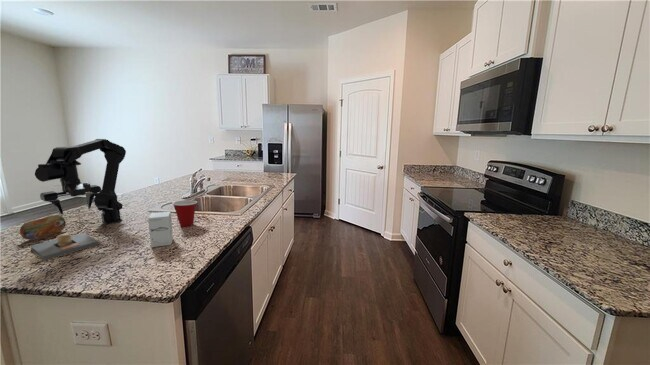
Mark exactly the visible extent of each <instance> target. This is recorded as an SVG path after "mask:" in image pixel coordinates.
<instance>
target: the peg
mask: <svg viewBox="0 0 650 365" xmlns="http://www.w3.org/2000/svg"><path fill="white" fill-rule="evenodd" d="M71 236H72V235H71V233H61V234H59V235H57V236H56V239H57V241H58V246H59V247H62V246H66V245H70V244H73V243H72V239H71ZM59 247H58V248H59Z"/></svg>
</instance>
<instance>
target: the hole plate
mask: <svg viewBox="0 0 650 365" xmlns="http://www.w3.org/2000/svg"><path fill="white" fill-rule="evenodd" d="M71 239H72V244H70V245H66V246H62V247H59V246H58V241H57V238H56V239H52V240H49V241H45V242H41V243H37V244H34V245H33V244H32V245H30V249H31V251H32V252H34V253H35V254H36V255H37V256H38V257H39V258H40V259H42V260H43V261H46V260H47V261H48V260H50V259H53V258H56V257H57V258H58V257H60V256H64V255H67V254H70V253H74V252H77V251H81V250H84V249H87V248H92V247H95V246H99V245H100V243H99V241H98V240H97V239H96V238H93V237H92V236H90V235H88V234H87V233H84V232H81V233H78V234H73V235H71Z"/></svg>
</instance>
